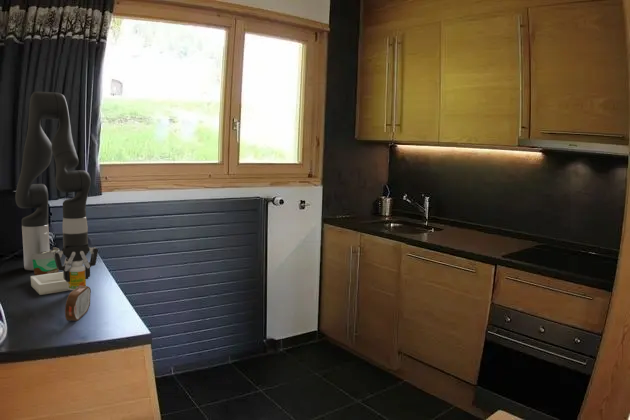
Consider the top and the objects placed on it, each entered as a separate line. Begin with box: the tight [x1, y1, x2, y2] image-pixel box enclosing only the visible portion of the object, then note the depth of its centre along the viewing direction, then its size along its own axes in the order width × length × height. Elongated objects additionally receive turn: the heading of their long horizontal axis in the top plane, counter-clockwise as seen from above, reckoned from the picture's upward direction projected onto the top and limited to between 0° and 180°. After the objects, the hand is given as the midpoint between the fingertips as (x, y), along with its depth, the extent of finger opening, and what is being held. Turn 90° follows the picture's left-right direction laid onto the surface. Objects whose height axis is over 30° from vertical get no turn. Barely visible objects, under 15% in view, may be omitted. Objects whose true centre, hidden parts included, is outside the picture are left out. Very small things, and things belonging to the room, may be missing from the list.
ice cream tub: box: [31, 246, 61, 276], centre depth 200 cm, size 12×6×10 cm, turn 168°
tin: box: [64, 285, 92, 322], centre depth 159 cm, size 15×3×8 cm, turn 5°
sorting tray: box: [30, 271, 71, 296], centre depth 187 cm, size 13×13×4 cm
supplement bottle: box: [68, 260, 87, 291], centre depth 180 cm, size 5×5×10 cm
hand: (77, 279), depth 181 cm, fingers closed on supplement bottle, 5 cm apart
